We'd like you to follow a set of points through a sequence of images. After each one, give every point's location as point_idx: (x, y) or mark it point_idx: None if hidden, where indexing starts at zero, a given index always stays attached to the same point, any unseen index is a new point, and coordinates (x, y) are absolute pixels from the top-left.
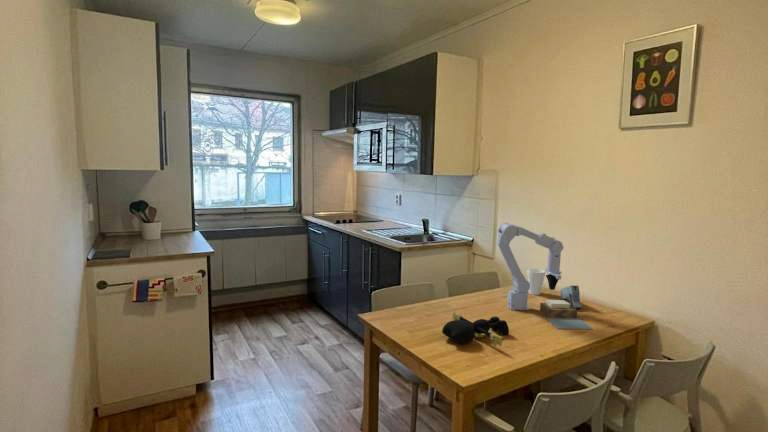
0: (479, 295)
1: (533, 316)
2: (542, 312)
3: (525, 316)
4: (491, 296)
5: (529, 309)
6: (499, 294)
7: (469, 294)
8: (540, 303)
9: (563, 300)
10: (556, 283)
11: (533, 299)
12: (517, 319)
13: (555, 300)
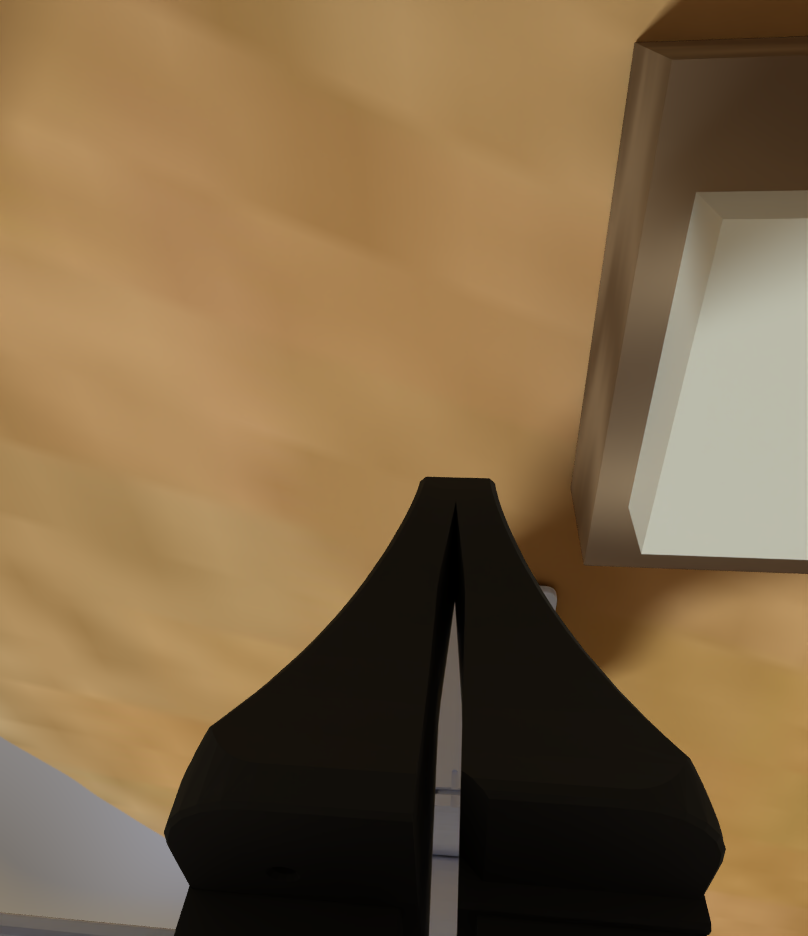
0: (152, 785)
1: (753, 610)
2: None
3: (733, 668)
4: (147, 731)
5: (556, 596)
6: (50, 668)
7: (151, 823)
8: (584, 559)
9: (747, 258)
10: (547, 604)
11: (95, 407)
12: (792, 738)
13: (710, 429)
